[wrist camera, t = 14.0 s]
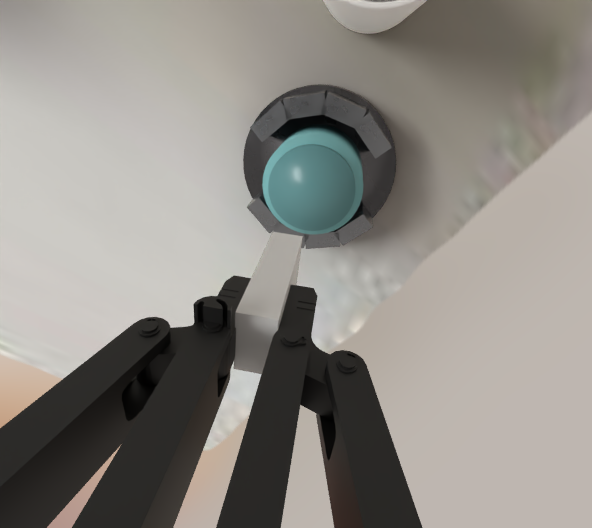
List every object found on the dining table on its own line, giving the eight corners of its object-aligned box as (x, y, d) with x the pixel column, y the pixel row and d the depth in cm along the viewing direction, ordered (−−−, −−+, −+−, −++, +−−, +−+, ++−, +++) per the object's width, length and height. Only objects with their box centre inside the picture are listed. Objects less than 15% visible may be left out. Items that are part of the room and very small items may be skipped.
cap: (275, 121, 31) (259, 134, 26) (367, 126, 30) (369, 140, 25) (275, 207, 35) (261, 233, 30) (356, 214, 35) (357, 241, 29)
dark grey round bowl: (249, 74, 31) (235, 76, 27) (413, 96, 30) (420, 100, 26) (243, 223, 38) (232, 239, 34) (375, 244, 37) (378, 263, 33)
